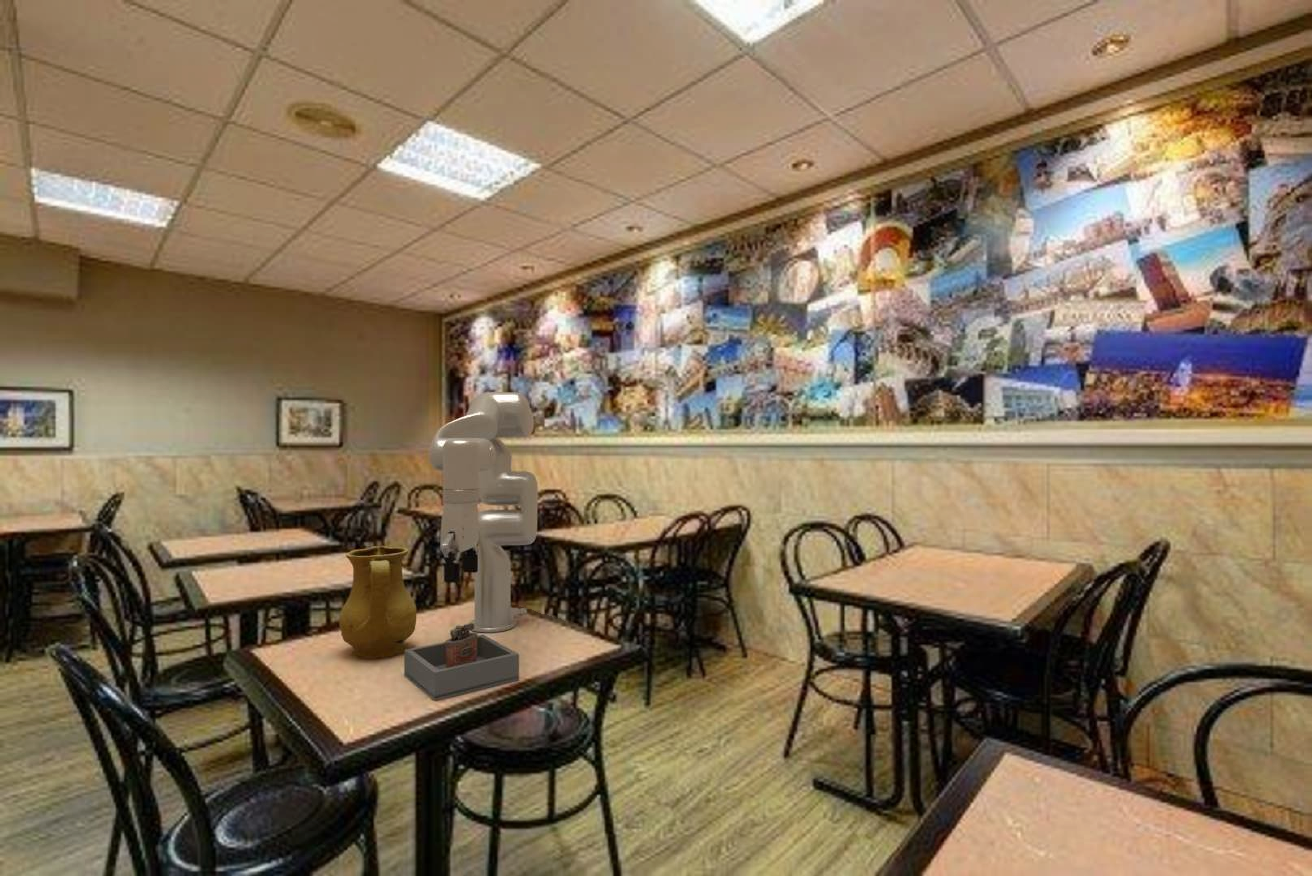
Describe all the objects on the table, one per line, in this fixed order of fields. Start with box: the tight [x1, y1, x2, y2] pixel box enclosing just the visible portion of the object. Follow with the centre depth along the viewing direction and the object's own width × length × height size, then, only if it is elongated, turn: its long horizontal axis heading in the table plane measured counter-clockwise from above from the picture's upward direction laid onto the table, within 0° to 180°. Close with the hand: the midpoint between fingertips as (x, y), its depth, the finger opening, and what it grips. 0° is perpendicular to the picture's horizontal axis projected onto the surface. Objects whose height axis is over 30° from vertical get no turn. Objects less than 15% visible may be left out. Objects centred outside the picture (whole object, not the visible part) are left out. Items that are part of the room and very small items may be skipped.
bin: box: [403, 634, 520, 702], centre depth 141 cm, size 18×18×6 cm
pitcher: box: [338, 545, 417, 660], centre depth 158 cm, size 17×19×25 cm
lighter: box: [444, 622, 479, 668], centre depth 141 cm, size 8×3×10 cm, turn 150°
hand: (461, 577), depth 141 cm, fingers open, 9 cm apart
